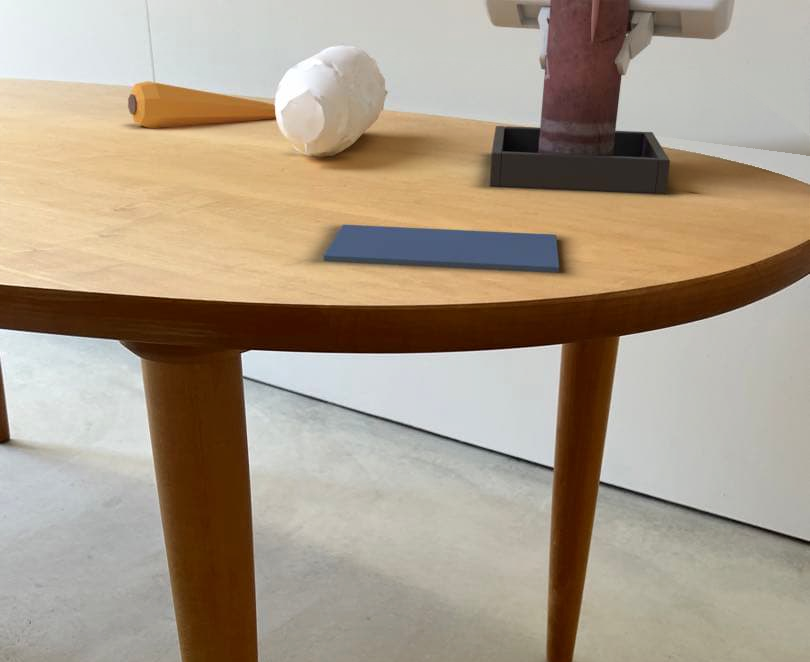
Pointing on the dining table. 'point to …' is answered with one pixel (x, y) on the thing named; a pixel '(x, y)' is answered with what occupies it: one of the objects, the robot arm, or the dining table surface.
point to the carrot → (190, 106)
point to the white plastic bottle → (329, 100)
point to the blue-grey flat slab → (445, 248)
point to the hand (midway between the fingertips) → (581, 67)
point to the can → (582, 76)
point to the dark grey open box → (579, 164)
